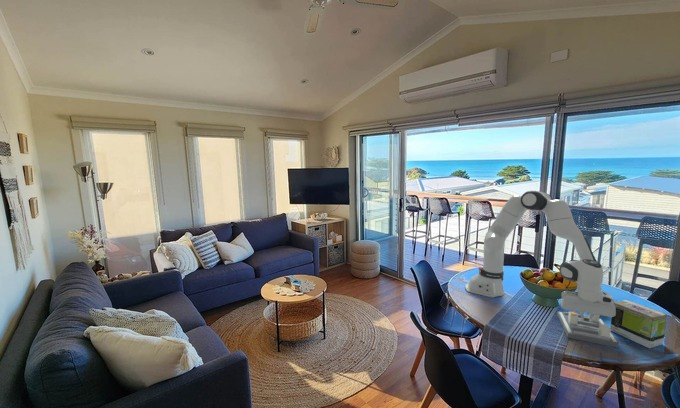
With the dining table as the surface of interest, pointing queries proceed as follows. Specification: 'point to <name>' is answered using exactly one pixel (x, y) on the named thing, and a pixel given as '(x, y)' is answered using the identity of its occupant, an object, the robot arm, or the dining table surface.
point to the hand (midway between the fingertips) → (585, 320)
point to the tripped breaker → (572, 318)
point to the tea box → (639, 323)
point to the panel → (588, 330)
